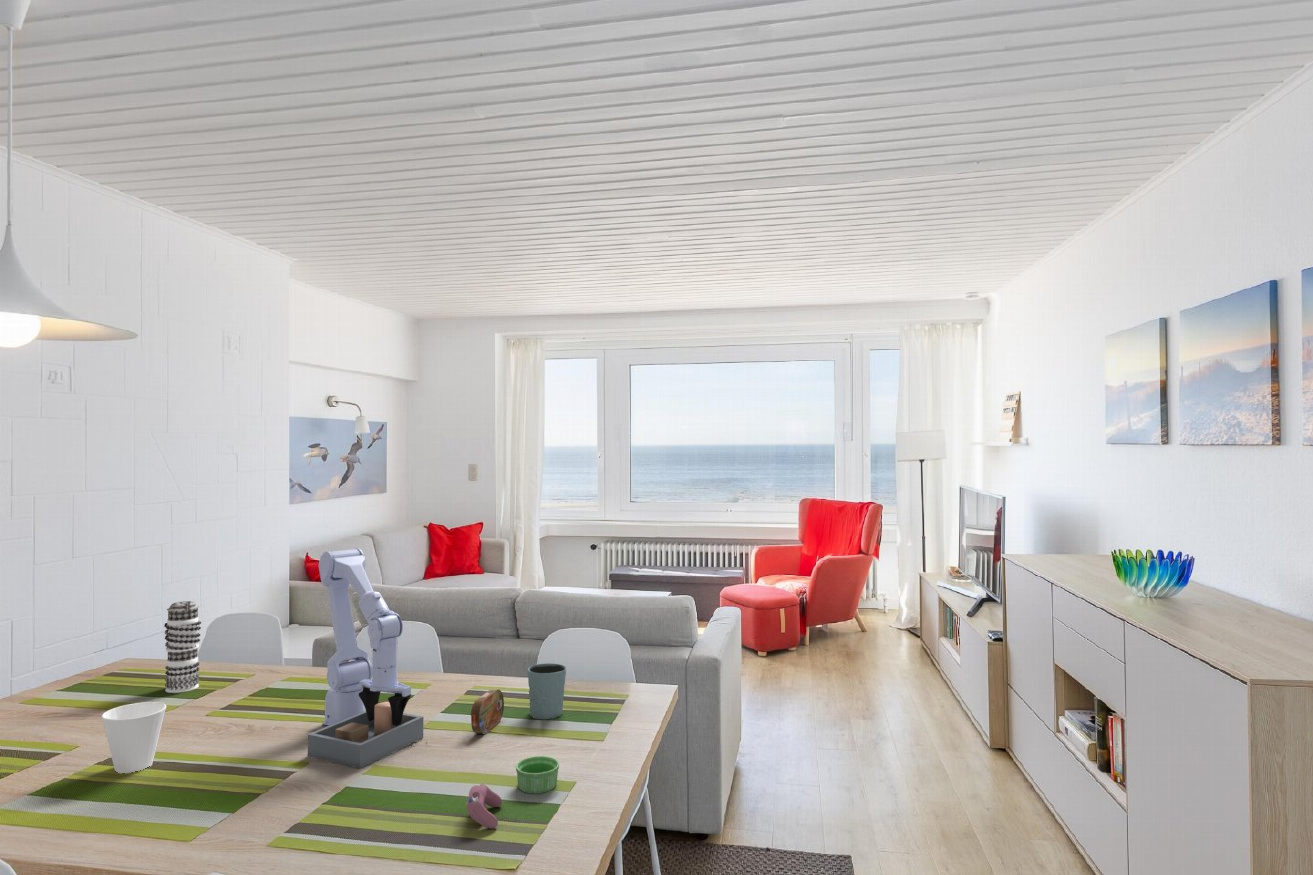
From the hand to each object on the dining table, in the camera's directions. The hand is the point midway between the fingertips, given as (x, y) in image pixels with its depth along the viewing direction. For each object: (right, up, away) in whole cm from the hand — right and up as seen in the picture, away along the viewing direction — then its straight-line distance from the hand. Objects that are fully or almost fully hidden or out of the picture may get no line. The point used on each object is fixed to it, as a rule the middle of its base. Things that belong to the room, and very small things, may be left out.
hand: (384, 721), depth 185 cm
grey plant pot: (+37, -5, +18) cm, 41 cm away
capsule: (0, -3, 0) cm, 3 cm away
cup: (-49, -4, -17) cm, 52 cm away
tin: (+23, -4, +7) cm, 25 cm away
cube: (-4, -3, -9) cm, 11 cm away
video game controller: (+33, -4, -40) cm, 52 cm away
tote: (-2, -4, -5) cm, 7 cm away
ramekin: (+41, -4, -26) cm, 49 cm away
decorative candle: (-73, -5, +39) cm, 83 cm away
